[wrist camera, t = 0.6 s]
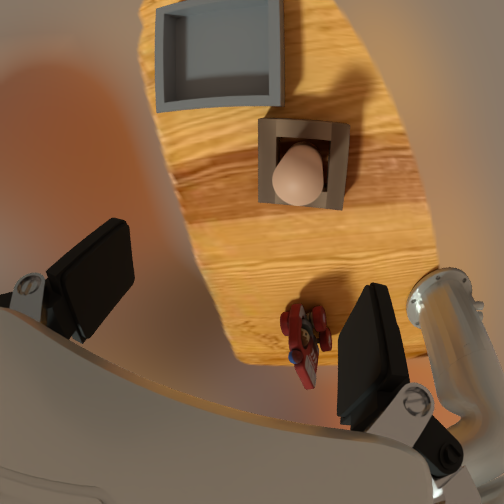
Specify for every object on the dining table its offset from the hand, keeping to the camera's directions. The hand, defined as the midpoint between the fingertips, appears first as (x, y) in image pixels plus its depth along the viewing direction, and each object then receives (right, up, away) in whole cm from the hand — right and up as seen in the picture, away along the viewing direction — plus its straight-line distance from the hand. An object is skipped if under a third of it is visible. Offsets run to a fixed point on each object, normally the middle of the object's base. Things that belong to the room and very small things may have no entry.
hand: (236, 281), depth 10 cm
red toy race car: (+10, -11, +35) cm, 38 cm away
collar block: (+7, +13, +22) cm, 26 cm away
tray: (-3, +26, +16) cm, 31 cm away
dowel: (+7, +13, +22) cm, 26 cm away
